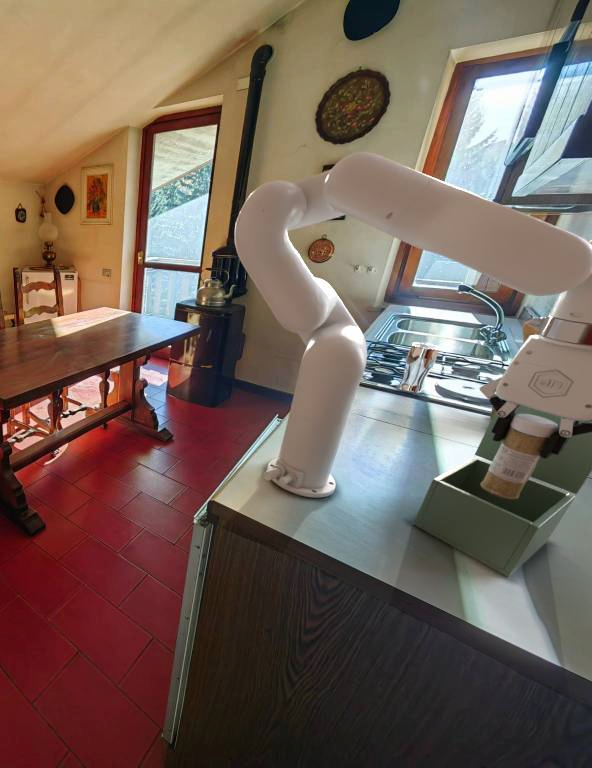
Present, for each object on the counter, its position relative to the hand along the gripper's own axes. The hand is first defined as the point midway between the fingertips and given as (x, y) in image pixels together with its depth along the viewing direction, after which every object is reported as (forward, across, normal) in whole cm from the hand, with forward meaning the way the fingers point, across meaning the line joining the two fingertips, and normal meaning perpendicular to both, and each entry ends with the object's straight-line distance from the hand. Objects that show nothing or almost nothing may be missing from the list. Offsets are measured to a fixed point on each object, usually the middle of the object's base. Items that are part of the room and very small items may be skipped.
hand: (522, 446), depth 60 cm
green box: (+18, 0, +1) cm, 18 cm away
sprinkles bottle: (+9, 0, 0) cm, 9 cm away
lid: (-1, 0, +8) cm, 8 cm away
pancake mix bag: (+18, -15, +57) cm, 62 cm away
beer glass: (+18, -39, +64) cm, 77 cm away
